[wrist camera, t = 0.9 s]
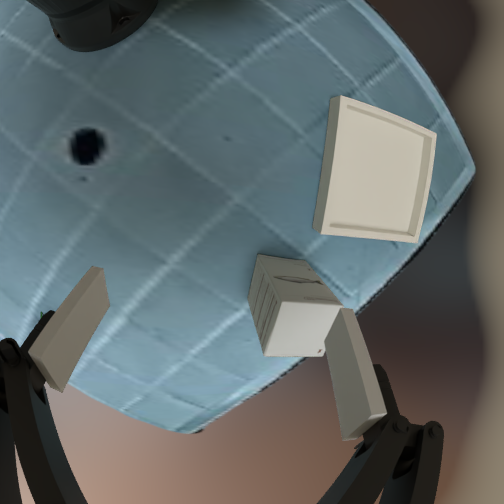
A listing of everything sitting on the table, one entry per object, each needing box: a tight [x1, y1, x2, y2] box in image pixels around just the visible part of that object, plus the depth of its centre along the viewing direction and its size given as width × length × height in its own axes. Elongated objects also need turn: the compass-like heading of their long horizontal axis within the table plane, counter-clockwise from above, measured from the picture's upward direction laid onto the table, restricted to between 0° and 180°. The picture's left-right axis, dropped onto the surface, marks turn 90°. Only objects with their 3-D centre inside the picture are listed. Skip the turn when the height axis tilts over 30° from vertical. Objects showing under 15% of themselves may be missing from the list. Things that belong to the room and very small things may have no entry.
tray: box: [312, 95, 437, 243], centre depth 34 cm, size 18×18×3 cm
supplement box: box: [248, 254, 344, 357], centre depth 33 cm, size 7×7×13 cm
